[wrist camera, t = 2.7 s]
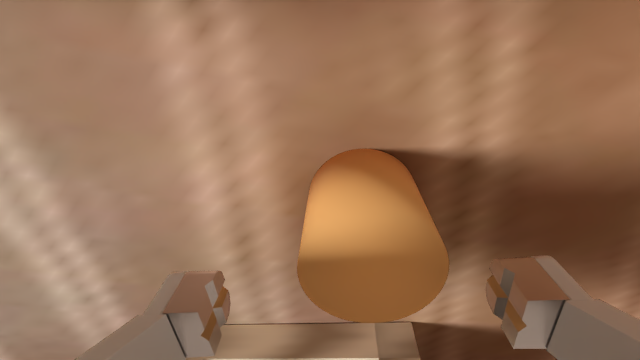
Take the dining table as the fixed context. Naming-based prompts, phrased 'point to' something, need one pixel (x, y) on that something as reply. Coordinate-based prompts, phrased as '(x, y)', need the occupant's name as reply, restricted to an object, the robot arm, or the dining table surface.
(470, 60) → the dining table surface
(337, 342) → the wooden napkin holder
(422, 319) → the dining table surface
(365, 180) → the brown egg
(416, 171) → the dining table surface
